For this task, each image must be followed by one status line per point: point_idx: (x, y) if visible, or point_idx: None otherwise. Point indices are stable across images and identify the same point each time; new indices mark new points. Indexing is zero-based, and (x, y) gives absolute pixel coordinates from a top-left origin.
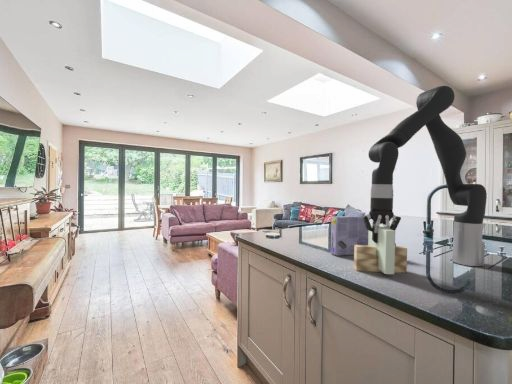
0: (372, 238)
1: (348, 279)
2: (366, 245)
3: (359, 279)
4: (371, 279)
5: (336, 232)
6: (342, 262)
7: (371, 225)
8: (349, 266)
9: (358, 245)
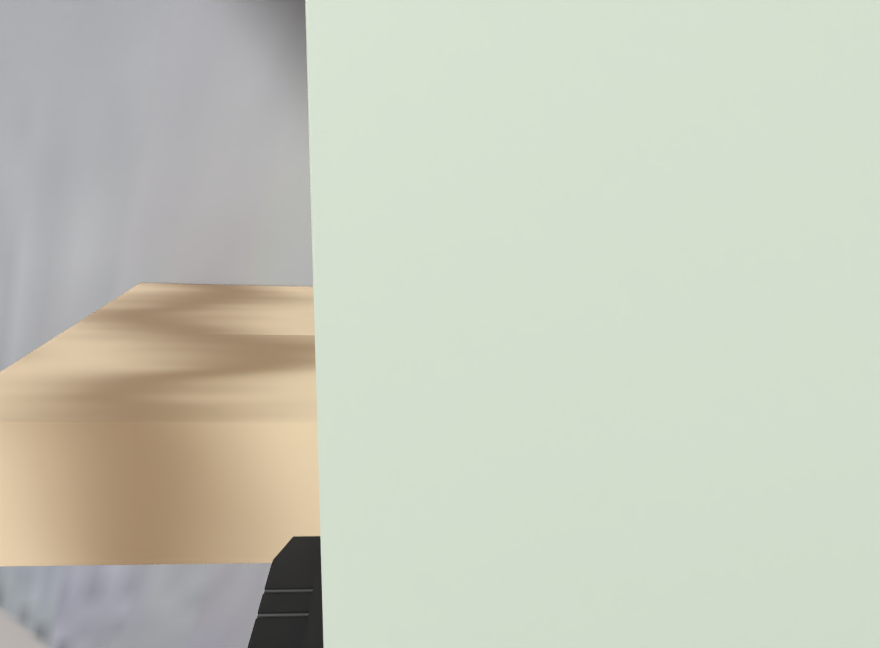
0: (270, 596)
1: (26, 603)
2: (192, 442)
3: (130, 591)
4: (242, 579)
5: None
6: (18, 29)
7: (324, 444)
8: (97, 217)
9: (10, 469)
